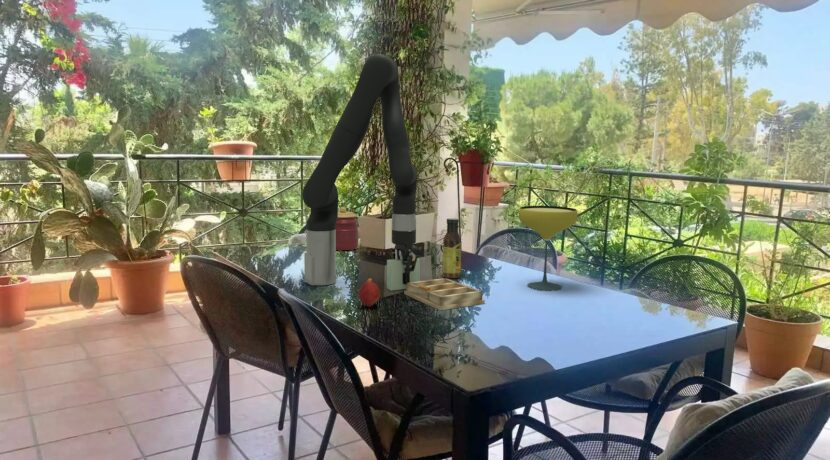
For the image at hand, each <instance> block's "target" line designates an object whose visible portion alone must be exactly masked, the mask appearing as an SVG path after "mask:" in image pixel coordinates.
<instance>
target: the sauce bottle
mask: <svg viewBox="0 0 830 460" xmlns="http://www.w3.org/2000/svg"><path fill="white" fill-rule="evenodd" d="M459 221H460V220H459V218H456V217H453V218H451V217H448V218H446V233H445V234H444V236H443V241H442V242H443V243H442V244H443V245H442V263H441V264H442V270H441V271H442V278H447V279H458V278H460V277H461V272H462V240H461V236H460V233H459Z"/></svg>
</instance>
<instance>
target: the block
mask: <svg viewBox="0 0 830 460" xmlns="http://www.w3.org/2000/svg"><path fill="white" fill-rule="evenodd" d="M420 260H421V259H420V258H418V257H417V261H416V265H415V269H414V271H411V272H410V282H418V281H421V280H420V279H421V278H420V276H421V275H420V274H421V273H420V272H421V270H420V269H421V267H420V265H421V261H420ZM404 262H407V261H404ZM405 267H406V265H405ZM411 267H412V266H411ZM386 289H387V290H389V291H398V290H399V291H400V290H407V284H406V285H404V284H403V269H402V265H401V261H400V259H393V260H392V259H386Z"/></svg>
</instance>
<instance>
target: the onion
mask: <svg viewBox="0 0 830 460" xmlns="http://www.w3.org/2000/svg"><path fill="white" fill-rule="evenodd" d="M380 297H381V292H380V289H379V287H378V285H377V284H376V283H374V282H373V279H372V278H368V279H367V281H365V282H364V283H363V284H362V285H361V286H360V287H359V290H358V299H359V301H360V302H361V303H362V304H363V305H365V306H366V307H368V308H371V307H372V306H373V305H374V304H376V303H377V302H378V301H379V300H380Z"/></svg>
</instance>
